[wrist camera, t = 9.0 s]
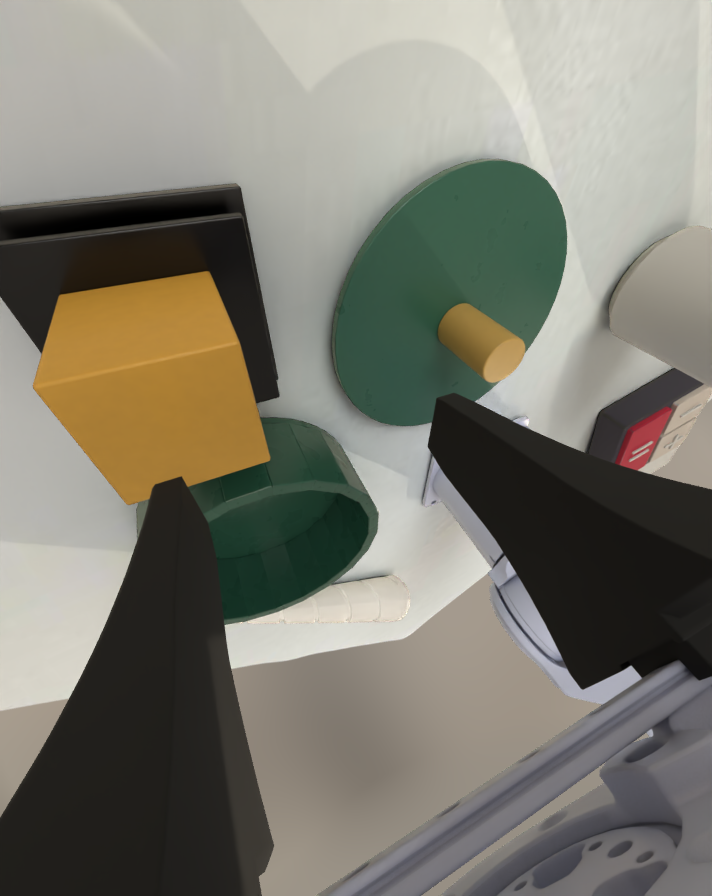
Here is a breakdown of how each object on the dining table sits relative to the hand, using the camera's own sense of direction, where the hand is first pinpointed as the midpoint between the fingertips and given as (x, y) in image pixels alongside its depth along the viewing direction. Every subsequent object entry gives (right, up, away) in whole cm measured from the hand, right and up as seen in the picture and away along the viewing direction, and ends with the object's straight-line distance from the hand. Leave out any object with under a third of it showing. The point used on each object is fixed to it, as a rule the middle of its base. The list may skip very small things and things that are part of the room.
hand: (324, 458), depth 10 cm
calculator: (+32, +3, +33) cm, 46 cm away
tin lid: (+6, +7, +10) cm, 14 cm away
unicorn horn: (-4, -15, +28) cm, 31 cm away
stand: (-7, +6, +4) cm, 10 cm away
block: (-6, +4, +3) cm, 8 cm away
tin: (-6, -3, +14) cm, 15 cm away
